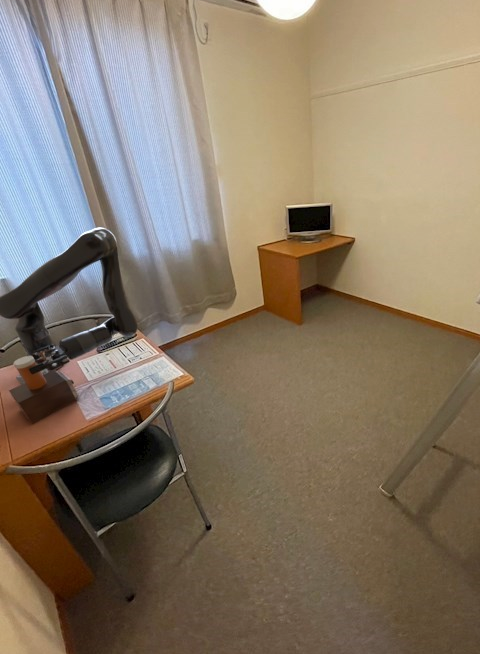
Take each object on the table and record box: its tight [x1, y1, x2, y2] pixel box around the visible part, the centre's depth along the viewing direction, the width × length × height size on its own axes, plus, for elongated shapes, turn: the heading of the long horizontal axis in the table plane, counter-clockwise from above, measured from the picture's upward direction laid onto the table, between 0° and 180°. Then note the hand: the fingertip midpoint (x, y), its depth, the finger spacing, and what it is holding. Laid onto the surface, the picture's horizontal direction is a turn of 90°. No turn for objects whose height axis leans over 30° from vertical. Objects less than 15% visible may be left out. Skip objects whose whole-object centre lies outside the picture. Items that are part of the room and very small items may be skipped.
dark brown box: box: [8, 370, 78, 425], centre depth 112 cm, size 14×11×9 cm
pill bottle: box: [12, 355, 46, 390], centre depth 107 cm, size 5×5×10 cm
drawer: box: [56, 370, 79, 399], centre depth 114 cm, size 14×9×7 cm
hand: (25, 367), depth 106 cm, fingers open, 8 cm apart
